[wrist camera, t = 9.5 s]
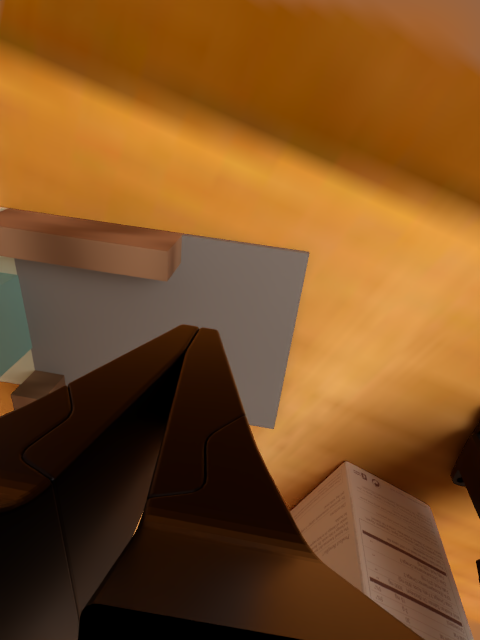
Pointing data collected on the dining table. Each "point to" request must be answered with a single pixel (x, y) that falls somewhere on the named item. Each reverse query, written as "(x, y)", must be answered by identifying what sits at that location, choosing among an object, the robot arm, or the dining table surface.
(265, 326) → the grey board
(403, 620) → the supplement box
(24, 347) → the block
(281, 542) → the robot arm
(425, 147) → the dining table surface
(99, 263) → the tunnel
